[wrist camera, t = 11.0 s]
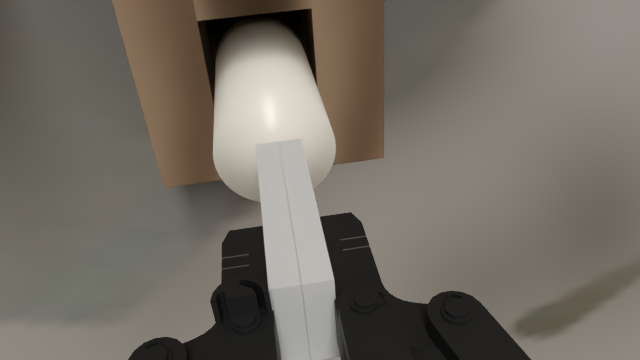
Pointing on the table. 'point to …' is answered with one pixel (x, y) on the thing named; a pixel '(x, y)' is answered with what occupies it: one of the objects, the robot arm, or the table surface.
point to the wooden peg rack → (199, 74)
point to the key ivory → (266, 103)
